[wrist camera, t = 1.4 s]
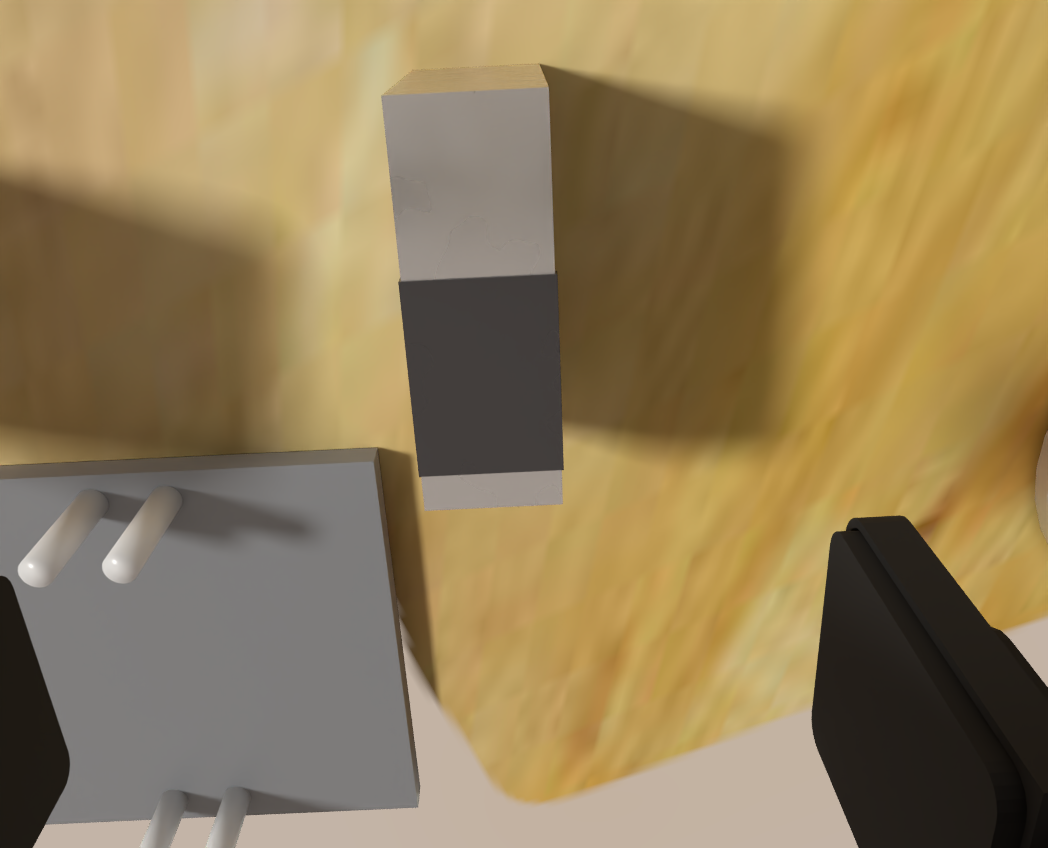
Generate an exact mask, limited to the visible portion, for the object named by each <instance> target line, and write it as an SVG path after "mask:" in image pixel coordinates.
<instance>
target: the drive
mask: <svg viewBox="0 0 1048 848" xmlns="http://www.w3.org/2000/svg"><path fill="white" fill-rule="evenodd" d="M381 97H382V106H383V116H384V125H385V135H386V144H387V154H388V163H389V173H390V182H391V192H392V202H393V211H394V221H395V230H396V240H397V249H398V259H399V268H400V279H399V282H398V283H399V292H400V302H401V311H402V320H403V330H404V339H405V349H406V358H407V368H408V377H409V386H410V396H411V405H412V415H413V424H414V434H415V443H416V452H417V462H418V471H419V477H421V478H422V488H423V497H424V507H425V511H430V510H451V509H471V508H492V507H513V506H534V505H555V504H563V499H562V470H564V466H563V435H562V404H561V372H560V341H559V310H558V279H557V271H555V257H554V227H553V197H552V167H551V137H550V107H549V86H548V84H547V82H546V79H545V77H544V74H543V72H542V70H541V67H540V65H539V64H519V65H499V66H479V67H460V68H440V69H420V70H412V71H410V72H409V73H408V74H407V75H406V76H404V77H403V78H402V79H401V80H400V81H398V82H397V83H396V84H395V85H394V86H392V87H391V88H390V89H389V90H388V91H386V92H385V93H384V94H383V95H382V96H381Z"/></svg>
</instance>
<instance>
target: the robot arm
mask: <svg viewBox="0 0 1048 848" xmlns="http://www.w3.org/2000/svg"><path fill="white" fill-rule="evenodd" d="M1035 503H1036V508H1037V514H1038V519H1039V524H1040V529H1041V531H1042V533H1043V535H1044V537H1045V539H1046V541H1047V543H1048V430H1047V433H1046V435H1045V437H1044V441H1043V445H1042V449H1041V453H1040V456H1039V460H1038V464H1037V468H1036V486H1035ZM812 729H813V735H814V739H815V743H816V746H817V749H818V751H819V754H820V756H821V759H822V761H823V764H824V766H825V768H826V771H827V773H828V775H829V778H830V780H831V782H832V785H833V787H834V790H835V792H836V795H837V797H838V799H839V802H840V804H841V807H842V809H843V811H844V814H845V816H846V819H847V821H848V823H849V826H850V828H851V830H852V833H853V835H854V838H855V840H856V843H857V845H858V847H859V848H1048V687H1047V686H1046V685H1045V683H1044V682H1043V681H1042V680H1041V678H1040V677H1039V676H1038V675H1037V673H1036V672H1035V671H1034V669H1033V668H1032V667H1031V665H1030V664H1029V663H1028V662H1027V661H1026V659H1025V658H1024V657H1023V655H1022V654H1021V653H1020V651H1019V650H1018V649H1017V648H1016V646H1015V645H1014V644H1013V643H1012V641H1011V640H1010V639H1009V638H1008V637H1007V636H1006V635H1005V634H1004V633H1003V632H1002V631H1001V630H998V629H995V628H993V627H991V626H990V625H989V624H988V623H987V621H986V620H985V619H984V617H983V616H982V615H981V613H980V612H979V611H978V610H977V608H976V607H975V606H974V604H973V603H972V602H971V600H970V599H969V598H968V597H967V595H966V594H965V593H964V591H963V590H962V589H961V587H960V586H959V585H958V584H957V582H956V581H955V580H954V578H953V577H952V576H951V574H950V573H949V572H948V571H947V569H946V568H945V567H944V565H943V564H942V563H941V561H940V560H939V559H938V557H937V556H936V555H935V554H934V552H933V551H932V550H931V548H930V547H929V546H928V544H927V543H926V542H925V541H924V539H923V538H922V537H921V535H920V534H919V533H918V531H917V530H916V529H915V528H914V526H913V525H912V524H911V522H910V521H909V520H908V519H907V518H906V517H905V516H884V517H865V518H853V519H851V520H850V521H849V523H848V525H847V528H846V531H840V532H835V533H834V534H833V536H832V538H831V543H830V551H829V560H828V569H827V579H826V588H825V597H824V606H823V615H822V624H821V634H820V643H819V652H818V661H817V670H816V679H815V688H814V698H813V707H812ZM69 771H70V757H69V752H68V749H67V746H66V743H65V740H64V737H63V734H62V731H61V728H60V725H59V722H58V719H57V716H56V713H55V710H54V707H53V704H52V701H51V698H50V695H49V692H48V689H47V686H46V683H45V680H44V677H43V674H42V671H41V668H40V665H39V662H38V659H37V656H36V653H35V650H34V647H33V644H32V641H31V638H30V635H29V632H28V629H27V626H26V623H25V620H24V617H23V614H22V611H21V608H20V605H19V602H18V599H17V596H16V594H15V591H14V588H13V586H12V583H11V581H10V580H9V579H8V578H7V577H4V576H0V848H33V846H34V844H35V842H36V841H37V839H38V837H39V835H40V833H41V831H42V829H43V828H44V826H45V824H46V822H47V820H48V818H49V816H50V815H51V813H52V811H53V809H54V807H55V805H56V804H57V802H58V800H59V798H60V796H61V794H62V792H63V791H64V789H65V786H66V784H67V781H68V777H69Z"/></svg>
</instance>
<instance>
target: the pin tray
mask: <svg viewBox="0 0 1048 848" xmlns="http://www.w3.org/2000/svg"><path fill="white" fill-rule="evenodd" d="M0 576H4V577H7V578H8V579H9V580H10V581H11V583H12V586H13V588H14V591H15V594H16V596H17V599H18V602H19V605H20V608H21V611H22V614H23V617H24V620H25V623H26V626H27V629H28V632H29V635H30V638H31V641H32V644H33V647H34V650H35V653H36V656H37V659H38V662H39V665H40V668H41V671H42V674H43V677H44V680H45V683H46V686H47V689H48V692H49V695H50V698H51V701H52V704H53V707H54V710H55V713H56V716H57V719H58V722H59V725H60V728H61V731H62V734H63V737H64V740H65V743H66V746H67V749H68V752H69V757H70V771H69V777H68V781H67V784H66V786H65V789H64V791H63V792H62V794H61V796H60V798H59V800H58V802H57V804H56V805H55V807H54V809H53V811H52V813H51V815H50V816H49V818H48V820H47V822H46V824H67V823H89V822H110V821H132V820H151V822H150V824H149V826H148V829H147V831H146V833H145V836H144V838H143V840H142V843H141V845H140V847H139V848H170V846H171V844H172V841H173V838H174V836H175V834H176V831H177V829H178V826H179V823H180V821H181V818H195V817H196V818H197V817H216V819H215V822H214V824H213V827H212V830H211V833H210V836H209V838H208V841H207V844H206V847H205V848H235V846H236V843H237V840H238V837H239V833H240V830H241V827H242V824H243V821H244V818H245V815H263V814H285V813H307V812H329V811H350V810H373V809H393V808H414V807H415V808H416V807H418V802H419V793H420V782H419V775H418V766H417V758H416V751H415V742H414V736H413V735H414V734H413V727H412V719H411V711H410V703H409V695H408V687H407V679H406V671H405V663H404V655H403V647H402V639H401V631H400V623H399V615H398V607H397V599H396V591H395V583H394V575H393V567H392V559H391V551H390V543H389V535H388V527H387V519H386V511H385V503H384V495H383V488H382V480H381V472H380V464H379V456H378V448H359V449H338V450H317V451H297V452H276V453H255V454H234V455H213V456H193V457H172V458H151V459H130V460H110V461H89V462H68V463H47V464H27V465H6V466H0Z"/></svg>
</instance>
